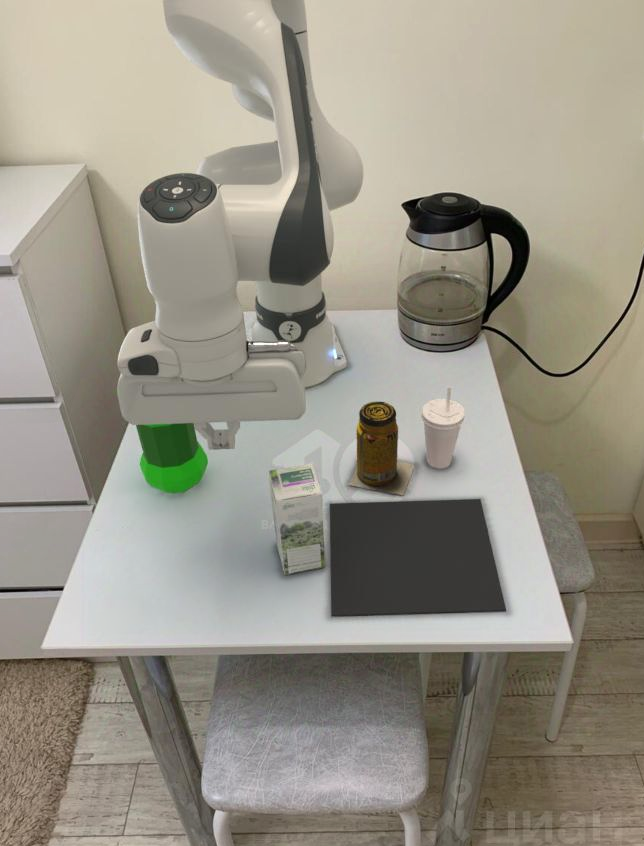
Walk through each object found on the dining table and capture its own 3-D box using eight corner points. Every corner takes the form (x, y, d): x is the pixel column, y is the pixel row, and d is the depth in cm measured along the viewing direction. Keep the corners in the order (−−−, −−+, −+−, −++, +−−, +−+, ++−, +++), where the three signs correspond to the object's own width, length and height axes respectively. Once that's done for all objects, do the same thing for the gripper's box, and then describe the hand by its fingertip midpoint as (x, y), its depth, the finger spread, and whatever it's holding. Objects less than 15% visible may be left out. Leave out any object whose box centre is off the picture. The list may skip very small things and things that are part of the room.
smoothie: (457, 476, 110) (466, 402, 100) (415, 471, 111) (420, 397, 101) (461, 449, 114) (470, 376, 105) (420, 445, 115) (425, 371, 106)
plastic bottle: (187, 513, 105) (153, 369, 88) (130, 491, 109) (86, 349, 92) (225, 471, 112) (201, 329, 95) (170, 452, 115) (136, 312, 98)
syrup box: (317, 537, 101) (312, 459, 91) (326, 569, 97) (322, 491, 87) (276, 545, 100) (267, 467, 90) (284, 578, 96) (275, 499, 86)
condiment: (362, 455, 114) (362, 393, 106) (414, 465, 112) (418, 402, 104) (348, 485, 109) (346, 423, 101) (403, 497, 107) (406, 433, 98)
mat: (329, 504, 106) (329, 503, 106) (480, 500, 106) (480, 498, 106) (331, 616, 91) (331, 615, 91) (505, 611, 91) (506, 609, 91)
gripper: (304, 324, 78) (311, 426, 87) (114, 331, 78) (141, 432, 87) (303, 356, 73) (311, 460, 82) (101, 363, 73) (131, 466, 82)
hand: (222, 446), depth 85 cm, fingers closed
